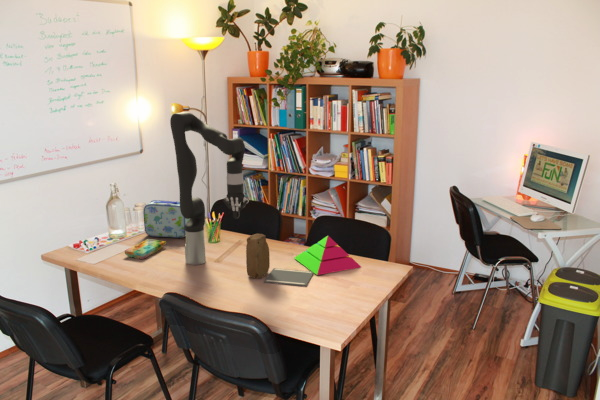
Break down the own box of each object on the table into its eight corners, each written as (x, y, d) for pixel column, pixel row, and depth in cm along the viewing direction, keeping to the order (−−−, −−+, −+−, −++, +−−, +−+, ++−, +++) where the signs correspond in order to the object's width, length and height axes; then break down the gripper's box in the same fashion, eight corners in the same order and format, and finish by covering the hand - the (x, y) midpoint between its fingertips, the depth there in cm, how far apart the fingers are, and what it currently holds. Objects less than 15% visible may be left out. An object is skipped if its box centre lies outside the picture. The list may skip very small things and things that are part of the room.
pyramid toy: (336, 251, 284) (337, 225, 280) (361, 267, 262) (363, 239, 258) (293, 257, 273) (294, 231, 269) (317, 275, 251) (317, 246, 248)
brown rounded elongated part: (256, 280, 247) (255, 239, 242) (245, 276, 252) (243, 236, 246) (272, 273, 255) (271, 233, 250) (260, 269, 260) (259, 230, 255)
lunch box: (193, 233, 313) (191, 199, 308) (186, 239, 303) (184, 204, 298) (151, 231, 318) (149, 197, 312) (143, 237, 307) (140, 202, 302)
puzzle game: (124, 249, 276) (148, 237, 294) (125, 257, 277) (148, 245, 295) (143, 252, 272) (166, 239, 290) (143, 260, 273) (166, 247, 291)
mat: (263, 282, 245) (263, 281, 245) (273, 269, 260) (273, 268, 260) (306, 286, 240) (306, 285, 240) (313, 272, 255) (313, 271, 255)
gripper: (218, 183, 242) (220, 219, 246) (246, 184, 239) (247, 221, 243) (224, 179, 249) (226, 215, 253) (251, 180, 246) (252, 216, 250)
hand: (236, 218), depth 248 cm, fingers closed
